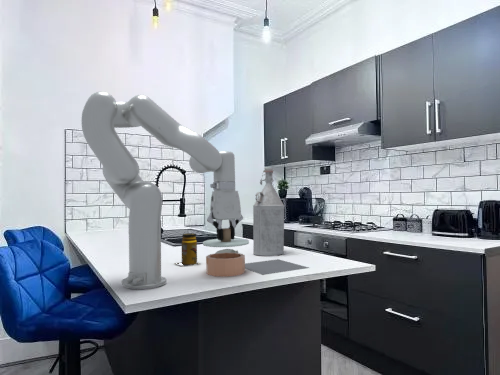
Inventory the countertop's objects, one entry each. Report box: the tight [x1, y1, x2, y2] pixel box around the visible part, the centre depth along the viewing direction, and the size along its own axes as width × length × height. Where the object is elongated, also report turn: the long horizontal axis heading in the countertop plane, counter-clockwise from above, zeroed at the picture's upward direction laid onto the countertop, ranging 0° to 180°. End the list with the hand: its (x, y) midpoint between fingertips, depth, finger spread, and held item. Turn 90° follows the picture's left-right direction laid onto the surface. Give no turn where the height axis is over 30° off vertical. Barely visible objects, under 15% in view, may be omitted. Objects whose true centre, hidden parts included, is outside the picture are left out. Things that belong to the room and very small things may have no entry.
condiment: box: [173, 232, 201, 267], centre depth 140 cm, size 7×8×12 cm
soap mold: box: [215, 248, 239, 253], centre depth 153 cm, size 10×20×4 cm, turn 174°
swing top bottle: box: [252, 166, 285, 257], centre depth 160 cm, size 13×17×40 cm
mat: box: [245, 258, 310, 276], centre depth 131 cm, size 20×20×1 cm
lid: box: [202, 227, 250, 248], centre depth 123 cm, size 16×16×5 cm
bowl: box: [205, 252, 246, 277], centre depth 123 cm, size 13×13×6 cm
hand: (225, 239), depth 123 cm, fingers closed on lid, 3 cm apart
